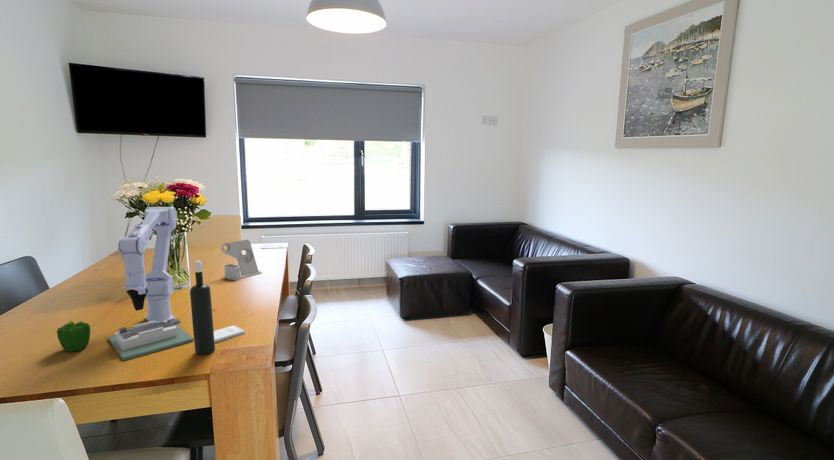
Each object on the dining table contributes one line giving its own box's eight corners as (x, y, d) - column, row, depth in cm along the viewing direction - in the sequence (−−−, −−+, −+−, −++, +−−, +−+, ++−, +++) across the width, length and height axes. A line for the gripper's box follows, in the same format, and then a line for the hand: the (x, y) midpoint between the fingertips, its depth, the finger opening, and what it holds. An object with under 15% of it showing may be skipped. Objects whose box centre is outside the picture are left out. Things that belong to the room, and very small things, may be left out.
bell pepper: (71, 343, 142) (67, 314, 140) (97, 342, 143) (93, 314, 141) (52, 354, 134) (47, 324, 132) (79, 354, 134) (75, 324, 133)
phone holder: (234, 280, 215) (231, 246, 212) (222, 277, 221) (219, 243, 218) (263, 273, 230) (261, 240, 227) (251, 270, 235) (249, 238, 232)
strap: (124, 336, 138) (124, 334, 137) (122, 333, 140) (121, 330, 140) (180, 323, 149) (180, 321, 149) (176, 320, 152) (176, 318, 152)
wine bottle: (191, 352, 136) (183, 261, 131) (208, 346, 141) (201, 258, 136) (201, 357, 133) (193, 264, 128) (218, 350, 138) (211, 260, 133)
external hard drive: (199, 339, 147) (233, 328, 156) (209, 346, 142) (245, 334, 151) (198, 335, 147) (233, 324, 156) (209, 341, 142) (244, 330, 151)
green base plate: (108, 339, 145) (106, 323, 144) (172, 323, 159) (171, 309, 159) (123, 360, 130) (121, 343, 129) (193, 341, 144) (191, 325, 143)
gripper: (116, 269, 147) (120, 307, 150) (126, 278, 137) (130, 318, 140) (139, 266, 152) (143, 302, 155) (151, 274, 142) (155, 312, 145)
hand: (139, 309), depth 147 cm, fingers closed
